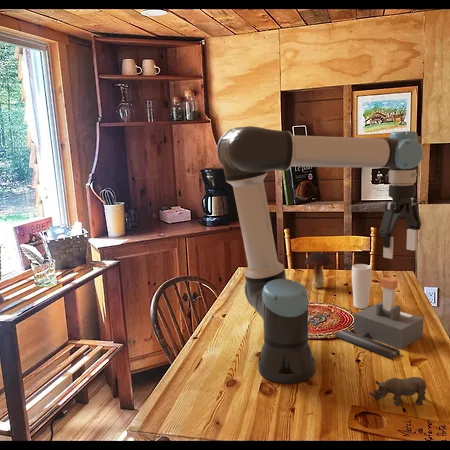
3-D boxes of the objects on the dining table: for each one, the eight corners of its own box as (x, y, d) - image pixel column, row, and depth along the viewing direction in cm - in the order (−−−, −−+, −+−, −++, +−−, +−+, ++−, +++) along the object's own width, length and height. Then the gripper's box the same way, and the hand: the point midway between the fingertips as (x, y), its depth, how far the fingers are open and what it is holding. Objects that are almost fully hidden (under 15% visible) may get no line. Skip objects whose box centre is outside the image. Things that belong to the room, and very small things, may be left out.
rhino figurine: (364, 398, 105) (365, 374, 104) (422, 395, 105) (423, 371, 104) (371, 408, 101) (371, 384, 100) (430, 405, 101) (432, 381, 100)
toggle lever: (391, 317, 134) (392, 281, 131) (380, 313, 137) (381, 278, 135) (396, 315, 135) (397, 280, 133) (384, 311, 138) (385, 277, 136)
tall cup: (368, 303, 163) (369, 263, 160) (372, 310, 156) (373, 269, 153) (349, 303, 163) (350, 264, 160) (353, 310, 157) (353, 269, 154)
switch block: (400, 349, 127) (401, 318, 125) (353, 331, 140) (354, 303, 138) (422, 336, 134) (423, 307, 133) (376, 321, 147) (376, 293, 145)
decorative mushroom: (299, 286, 184) (299, 251, 181) (321, 281, 189) (321, 247, 186) (315, 294, 174) (315, 257, 171) (338, 289, 179) (338, 253, 176)
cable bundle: (391, 359, 122) (391, 355, 121) (334, 336, 137) (334, 332, 137) (407, 350, 126) (407, 346, 126) (350, 329, 142) (350, 325, 141)
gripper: (390, 188, 122) (388, 264, 126) (435, 180, 137) (431, 248, 141) (367, 187, 128) (365, 259, 132) (412, 179, 143) (409, 244, 147)
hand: (399, 253), depth 136 cm, fingers open, 12 cm apart
